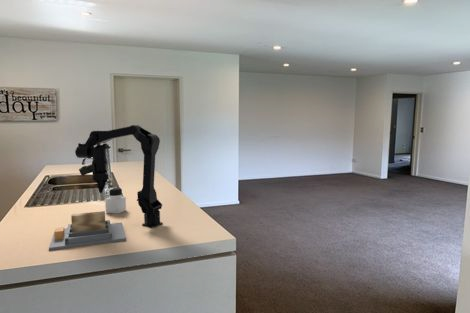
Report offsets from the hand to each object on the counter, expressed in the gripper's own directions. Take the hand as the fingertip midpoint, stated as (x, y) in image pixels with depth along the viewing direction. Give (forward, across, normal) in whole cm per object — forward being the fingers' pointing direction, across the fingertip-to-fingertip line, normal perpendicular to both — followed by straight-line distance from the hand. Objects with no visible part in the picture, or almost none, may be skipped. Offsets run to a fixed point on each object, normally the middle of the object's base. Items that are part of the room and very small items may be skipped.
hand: (100, 192), depth 152 cm
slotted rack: (+13, +20, -5) cm, 25 cm away
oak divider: (+12, +20, -5) cm, 24 cm away
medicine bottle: (+13, -15, +7) cm, 21 cm away
